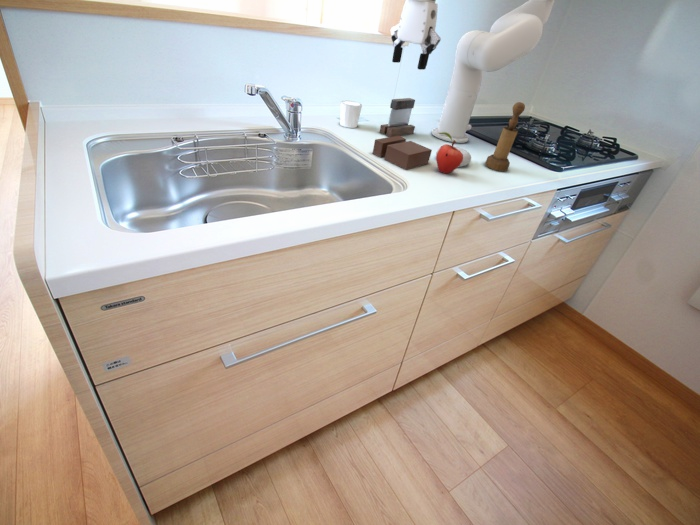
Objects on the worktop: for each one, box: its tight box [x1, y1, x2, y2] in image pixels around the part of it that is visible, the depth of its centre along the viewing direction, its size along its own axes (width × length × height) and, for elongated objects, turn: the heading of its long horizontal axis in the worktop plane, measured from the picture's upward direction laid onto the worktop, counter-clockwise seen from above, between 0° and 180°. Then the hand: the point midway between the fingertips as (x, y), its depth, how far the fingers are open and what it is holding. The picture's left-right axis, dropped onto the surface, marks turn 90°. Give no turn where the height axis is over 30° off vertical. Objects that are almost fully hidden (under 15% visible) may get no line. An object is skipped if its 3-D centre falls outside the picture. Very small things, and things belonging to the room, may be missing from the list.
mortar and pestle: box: [484, 101, 526, 172], centre depth 102 cm, size 7×6×18 cm
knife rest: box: [379, 123, 416, 138], centre depth 122 cm, size 12×5×2 cm, turn 133°
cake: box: [384, 140, 433, 171], centre depth 100 cm, size 10×8×4 cm
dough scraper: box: [387, 97, 416, 128], centre depth 119 cm, size 10×2×11 cm, turn 133°
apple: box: [435, 132, 463, 174], centre depth 96 cm, size 8×7×10 cm
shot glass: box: [339, 100, 363, 129], centre depth 120 cm, size 7×7×7 cm
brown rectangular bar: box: [372, 136, 407, 158], centre depth 103 cm, size 10×3×4 cm, turn 133°
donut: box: [435, 145, 472, 167], centre depth 105 cm, size 10×4×10 cm
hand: (408, 65), depth 109 cm, fingers open, 9 cm apart
